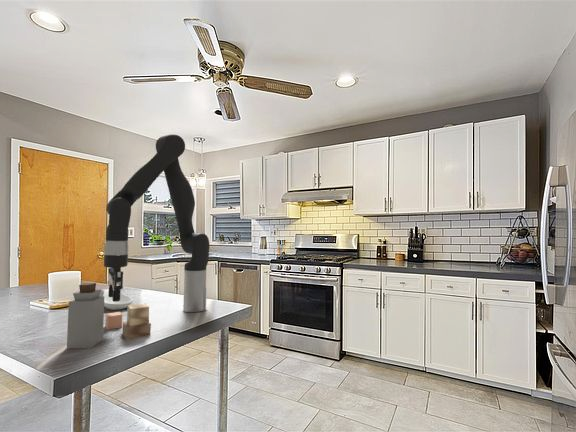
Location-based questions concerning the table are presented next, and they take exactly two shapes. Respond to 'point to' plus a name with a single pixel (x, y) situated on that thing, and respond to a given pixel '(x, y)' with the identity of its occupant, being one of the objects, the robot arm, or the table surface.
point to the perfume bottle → (85, 317)
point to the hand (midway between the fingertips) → (114, 299)
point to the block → (113, 320)
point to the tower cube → (138, 314)
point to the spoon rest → (117, 305)
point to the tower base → (136, 330)
